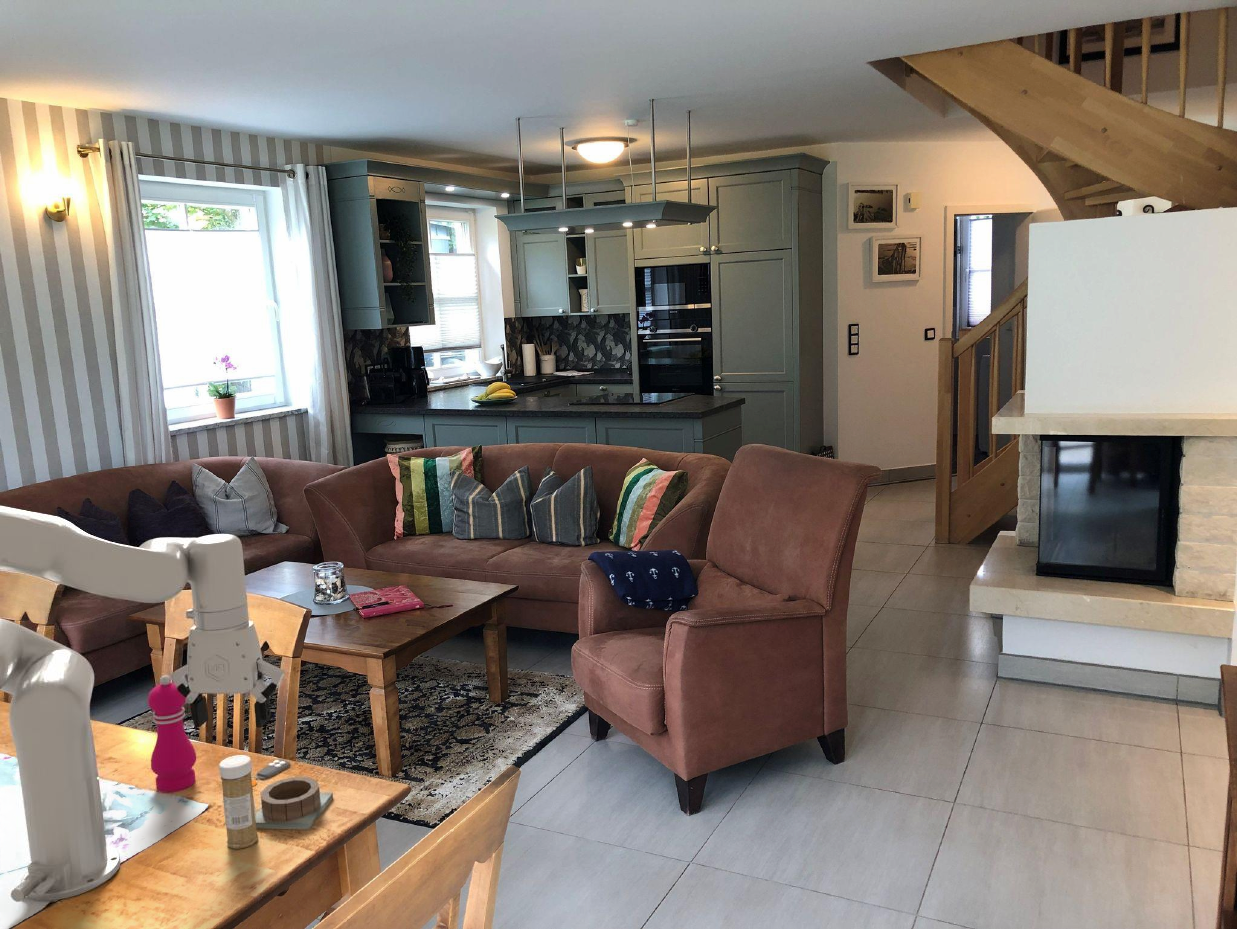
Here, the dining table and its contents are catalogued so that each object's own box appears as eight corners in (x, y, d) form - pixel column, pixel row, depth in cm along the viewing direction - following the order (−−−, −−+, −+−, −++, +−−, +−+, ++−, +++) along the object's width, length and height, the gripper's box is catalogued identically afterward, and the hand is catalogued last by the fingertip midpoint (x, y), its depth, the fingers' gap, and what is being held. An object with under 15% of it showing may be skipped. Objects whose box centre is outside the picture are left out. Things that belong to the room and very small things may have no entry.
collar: (309, 829, 150) (307, 805, 149) (248, 828, 151) (246, 804, 150) (333, 798, 160) (331, 775, 159) (275, 797, 161) (274, 775, 160)
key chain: (276, 764, 174) (275, 756, 174) (292, 767, 173) (291, 760, 172) (222, 797, 162) (221, 789, 162) (238, 801, 161) (238, 792, 161)
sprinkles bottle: (262, 833, 149) (254, 753, 147) (252, 849, 145) (245, 766, 143) (232, 835, 149) (224, 754, 147) (222, 851, 144) (214, 768, 142)
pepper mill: (206, 774, 170) (196, 668, 167) (184, 794, 162) (173, 683, 160) (168, 773, 170) (157, 667, 167) (144, 793, 163) (132, 683, 160)
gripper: (152, 625, 140) (164, 735, 142) (267, 624, 139) (277, 734, 141) (178, 610, 147) (189, 714, 150) (287, 608, 146) (296, 713, 149)
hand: (232, 724), depth 145 cm, fingers open, 9 cm apart
